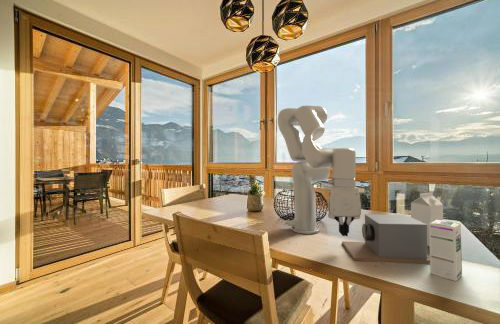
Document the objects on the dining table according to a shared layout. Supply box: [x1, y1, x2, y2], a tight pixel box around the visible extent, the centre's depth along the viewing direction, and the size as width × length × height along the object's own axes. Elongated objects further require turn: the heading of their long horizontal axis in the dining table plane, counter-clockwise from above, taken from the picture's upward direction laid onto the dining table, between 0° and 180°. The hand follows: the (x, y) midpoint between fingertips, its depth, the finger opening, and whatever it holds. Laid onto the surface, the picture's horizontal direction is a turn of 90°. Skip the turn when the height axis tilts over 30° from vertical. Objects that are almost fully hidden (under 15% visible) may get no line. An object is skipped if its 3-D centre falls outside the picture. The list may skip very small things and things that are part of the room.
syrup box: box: [429, 219, 463, 282], centre depth 62 cm, size 6×6×14 cm
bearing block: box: [341, 213, 430, 265], centre depth 77 cm, size 23×14×12 cm, turn 82°
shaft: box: [361, 223, 374, 242], centre depth 76 cm, size 18×6×6 cm, turn 82°
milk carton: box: [410, 192, 444, 247], centre depth 85 cm, size 7×7×19 cm
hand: (343, 234), depth 79 cm, fingers closed
